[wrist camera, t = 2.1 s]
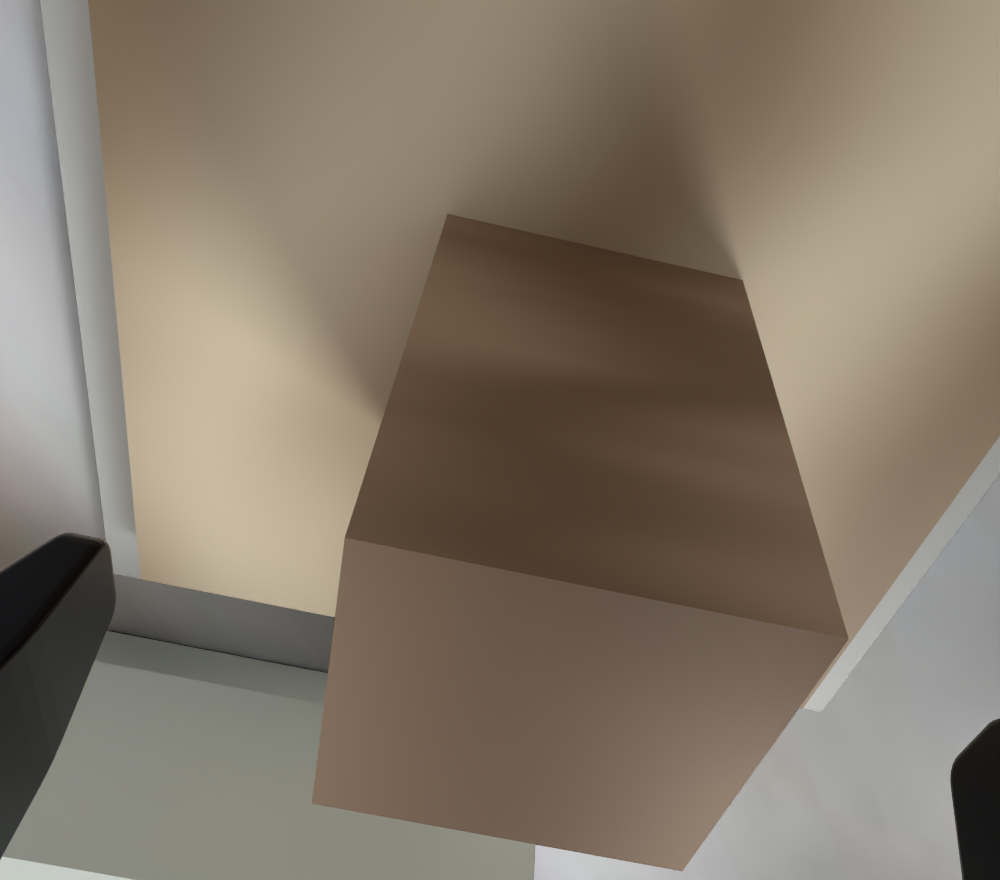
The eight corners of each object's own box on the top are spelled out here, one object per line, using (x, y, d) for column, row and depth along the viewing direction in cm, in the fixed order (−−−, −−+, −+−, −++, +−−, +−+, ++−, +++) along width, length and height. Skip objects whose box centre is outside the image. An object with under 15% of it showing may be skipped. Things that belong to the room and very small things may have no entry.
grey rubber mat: (1403, -108, 9) (1431, -104, 9) (817, 696, 19) (821, 711, 18) (2, -478, 8) (-20, -487, 8) (118, 558, 18) (109, 573, 17)
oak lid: (1271, -23, 10) (2127, 247, 4) (795, 675, 18) (884, 1071, 12) (96, -322, 9) (-657, -452, 4) (157, 548, 17) (-45, 912, 12)
